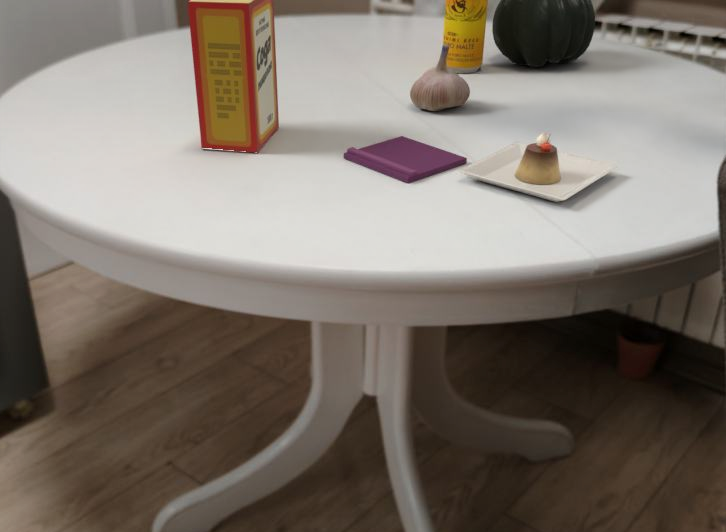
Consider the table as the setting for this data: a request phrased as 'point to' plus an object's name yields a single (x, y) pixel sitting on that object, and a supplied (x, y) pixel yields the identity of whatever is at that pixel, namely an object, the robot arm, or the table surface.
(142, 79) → the table surface
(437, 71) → the garlic bulb
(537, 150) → the dessert
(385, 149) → the purple flat slab
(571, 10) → the squash
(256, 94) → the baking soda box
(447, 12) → the beer can
